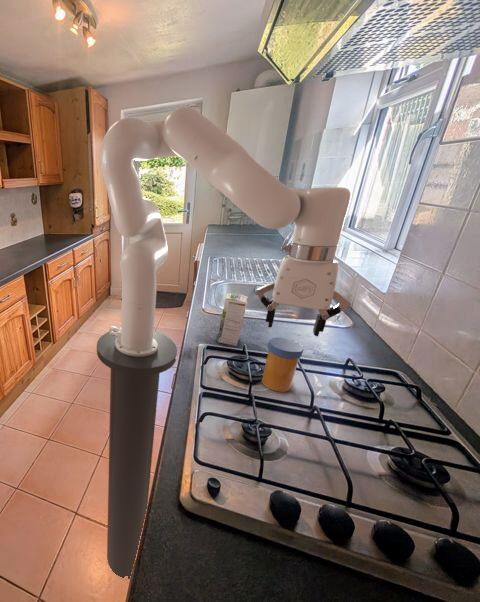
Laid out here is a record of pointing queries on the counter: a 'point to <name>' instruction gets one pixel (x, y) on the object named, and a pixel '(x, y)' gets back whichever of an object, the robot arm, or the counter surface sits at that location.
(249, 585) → the counter surface
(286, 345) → the honey lid
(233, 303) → the syrup box
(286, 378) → the honey jar
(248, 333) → the counter surface
